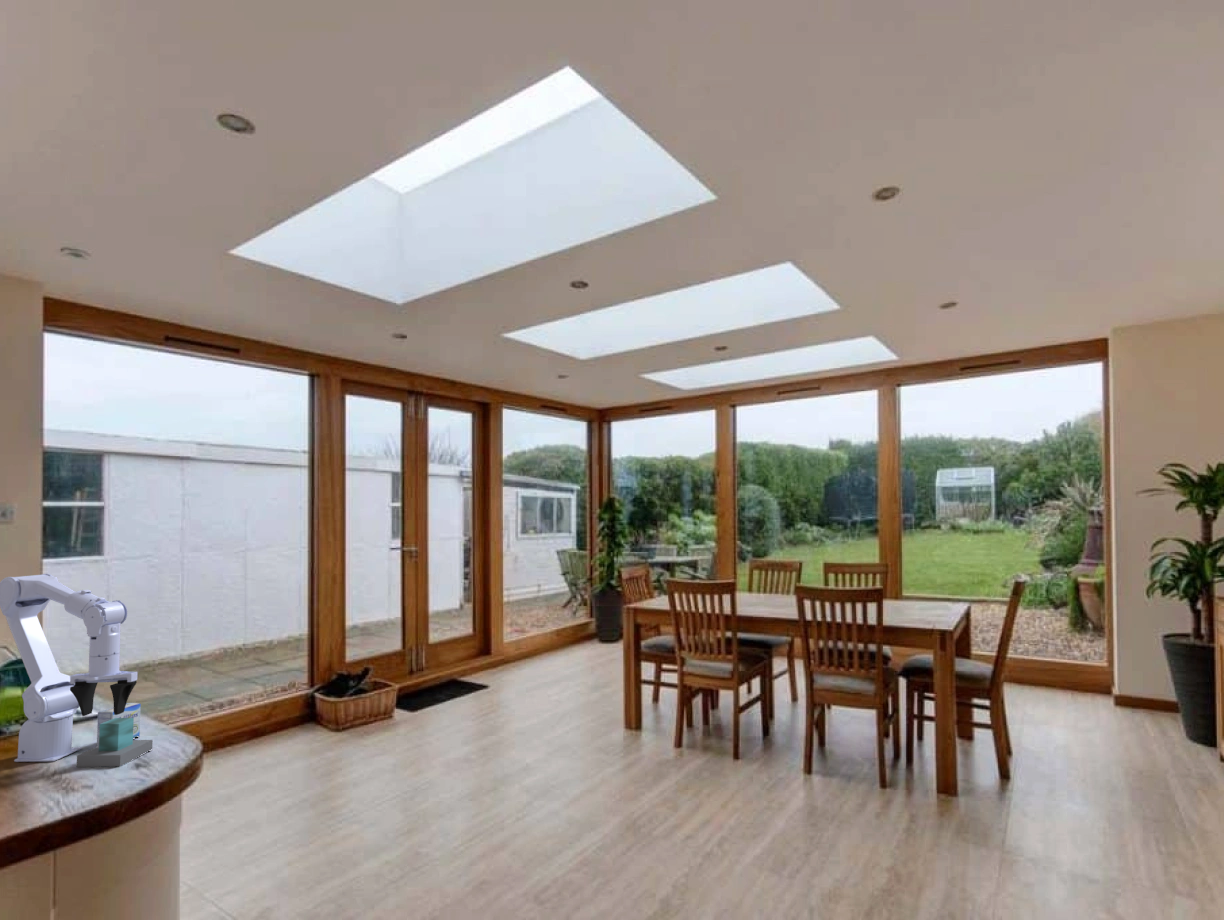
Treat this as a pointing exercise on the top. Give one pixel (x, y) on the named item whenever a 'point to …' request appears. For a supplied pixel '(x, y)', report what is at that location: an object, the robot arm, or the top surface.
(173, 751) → the top surface
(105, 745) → the teal block
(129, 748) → the charcoal base
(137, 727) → the medicine box
